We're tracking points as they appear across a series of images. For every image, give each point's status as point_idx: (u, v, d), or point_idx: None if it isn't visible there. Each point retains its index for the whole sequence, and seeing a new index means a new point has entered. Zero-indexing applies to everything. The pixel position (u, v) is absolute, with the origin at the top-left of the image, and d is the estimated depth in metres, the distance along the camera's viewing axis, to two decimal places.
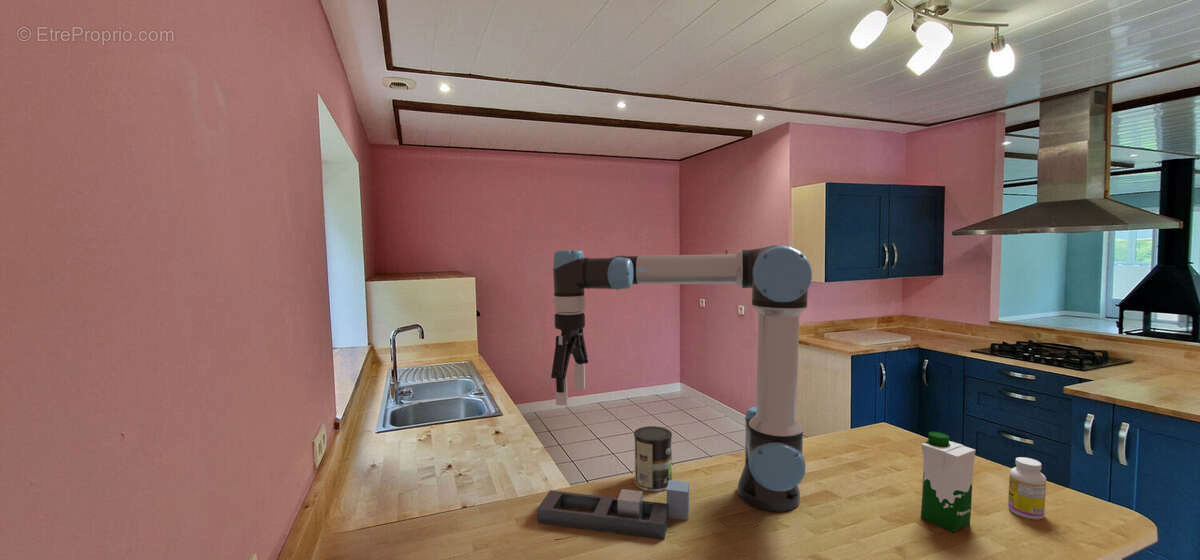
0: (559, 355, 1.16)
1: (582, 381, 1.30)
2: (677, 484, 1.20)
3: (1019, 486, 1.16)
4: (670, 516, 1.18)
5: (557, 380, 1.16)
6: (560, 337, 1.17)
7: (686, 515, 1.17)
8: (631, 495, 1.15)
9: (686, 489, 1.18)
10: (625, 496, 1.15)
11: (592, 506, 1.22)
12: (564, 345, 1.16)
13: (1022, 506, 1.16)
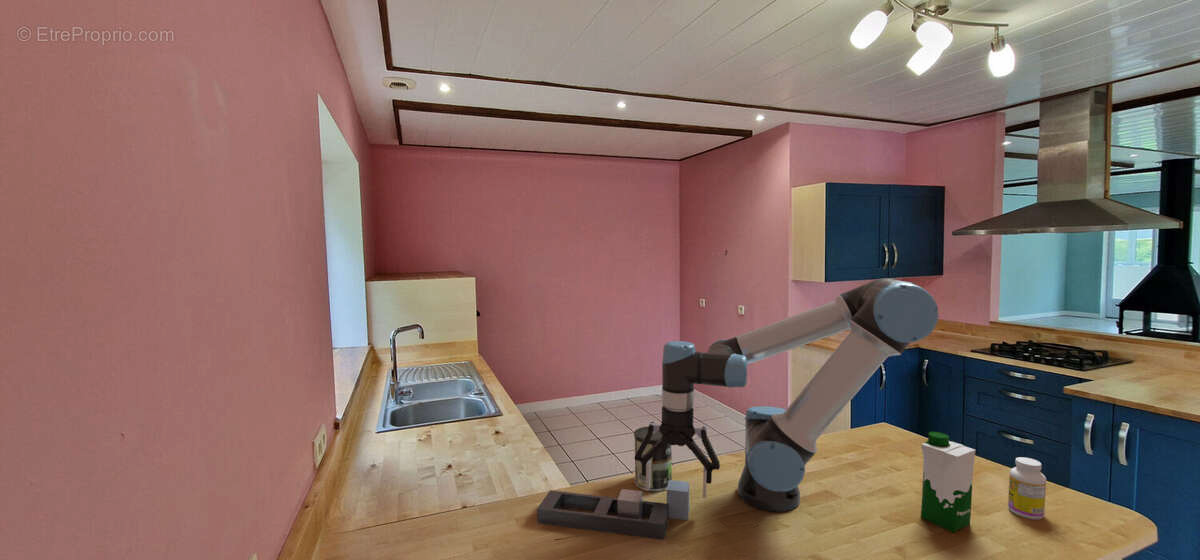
0: None
1: (703, 488, 1.17)
2: (677, 484, 1.20)
3: (1019, 486, 1.16)
4: (670, 516, 1.18)
5: None
6: (649, 424, 1.20)
7: (686, 515, 1.17)
8: (631, 495, 1.15)
9: (686, 489, 1.18)
10: (625, 496, 1.15)
11: (592, 506, 1.22)
12: None
13: (1022, 506, 1.16)
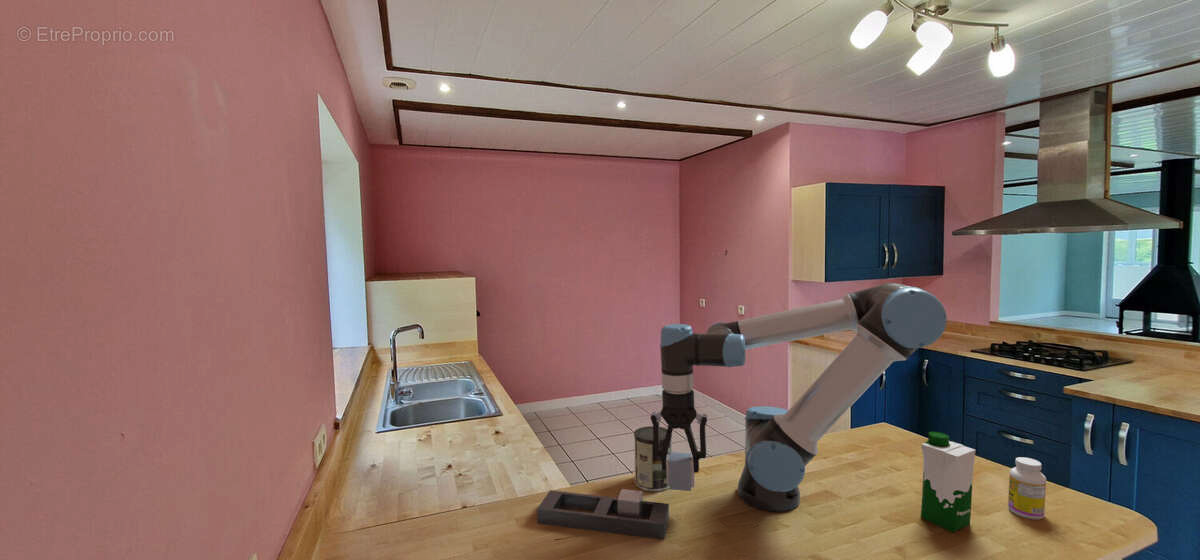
0: None
1: None
2: (679, 456, 1.20)
3: (1019, 486, 1.16)
4: (673, 487, 1.17)
5: None
6: (651, 415, 1.20)
7: (689, 486, 1.17)
8: (631, 495, 1.15)
9: (688, 460, 1.17)
10: (625, 496, 1.15)
11: (592, 506, 1.22)
12: (653, 424, 1.19)
13: (1022, 506, 1.16)
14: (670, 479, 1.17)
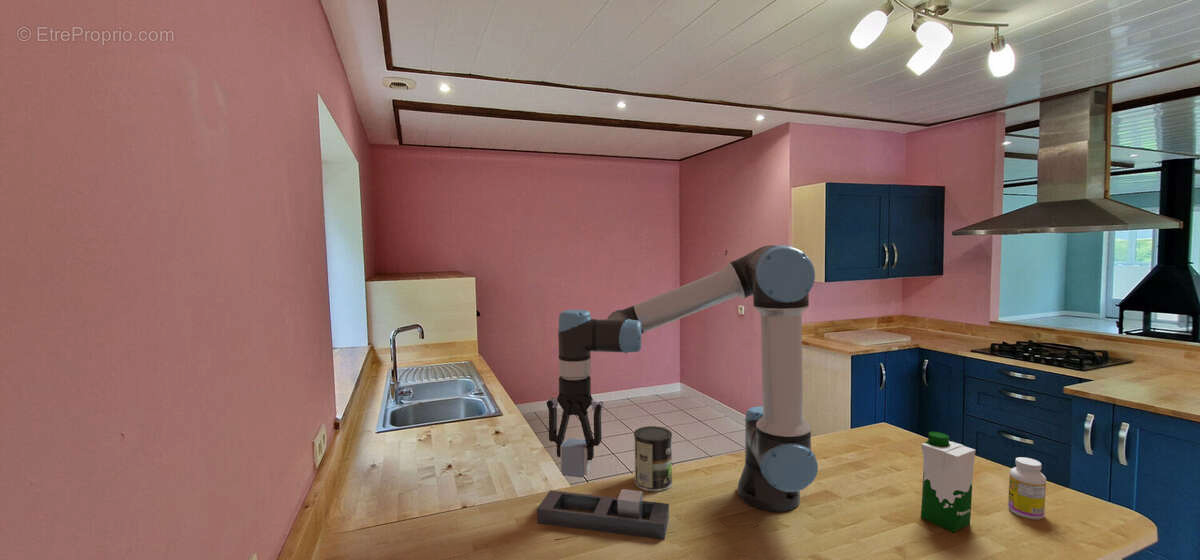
0: None
1: None
2: (574, 442, 1.18)
3: (1019, 486, 1.16)
4: (565, 474, 1.16)
5: None
6: None
7: (581, 472, 1.15)
8: (631, 495, 1.15)
9: (582, 446, 1.16)
10: (625, 496, 1.15)
11: (592, 506, 1.22)
12: (549, 409, 1.18)
13: (1022, 506, 1.16)
14: (563, 465, 1.16)
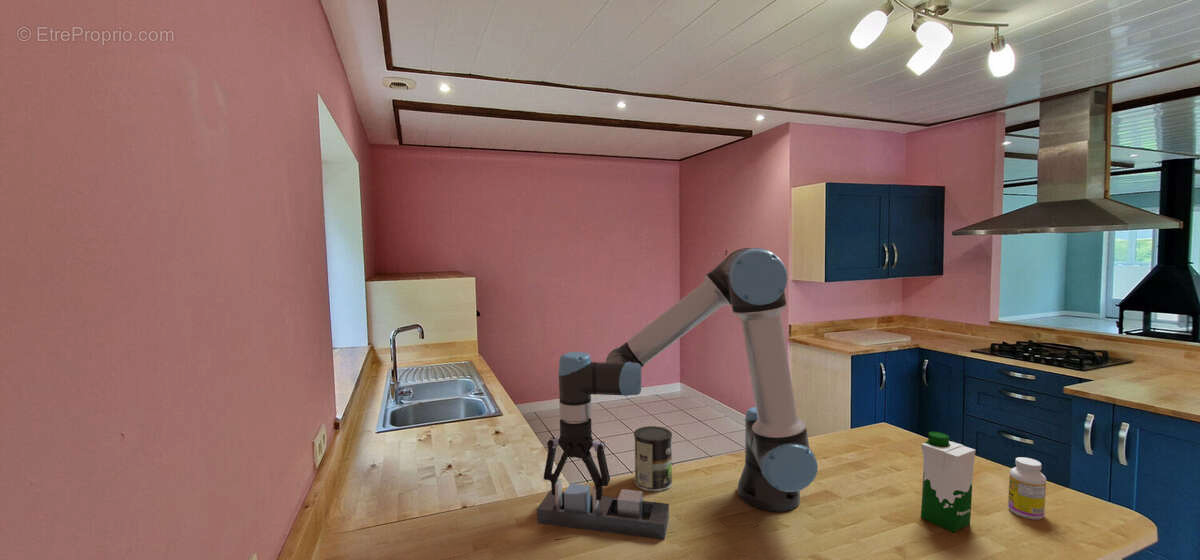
0: None
1: None
2: (576, 488, 1.19)
3: (1019, 486, 1.16)
4: None
5: None
6: (549, 440, 1.19)
7: None
8: (631, 495, 1.15)
9: (584, 493, 1.17)
10: (625, 496, 1.15)
11: (592, 506, 1.22)
12: None
13: (1022, 506, 1.16)
14: None
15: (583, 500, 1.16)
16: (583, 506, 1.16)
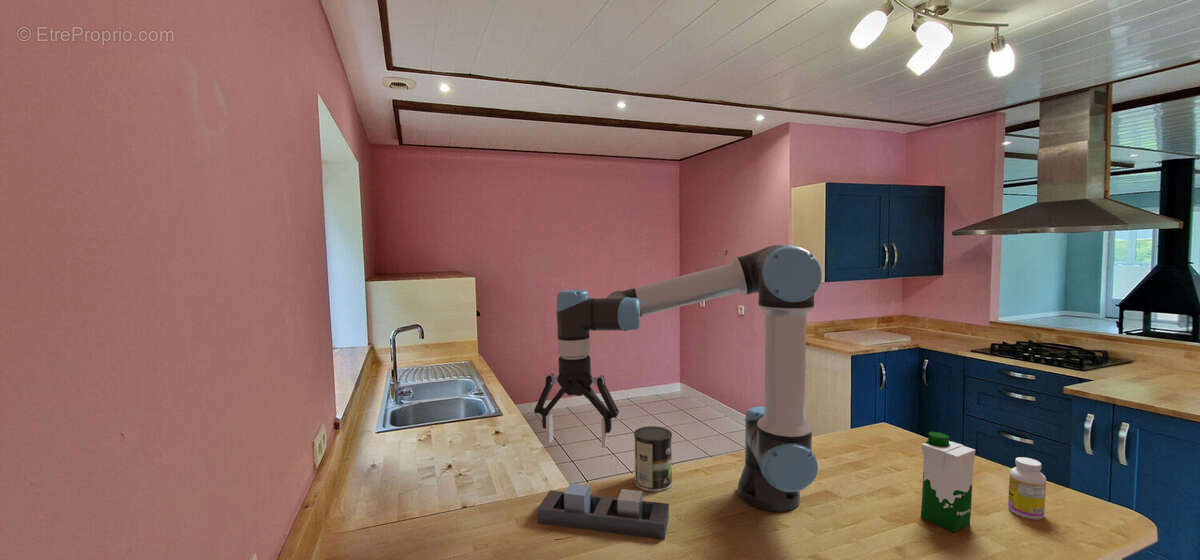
0: None
1: None
2: (576, 488, 1.19)
3: (1019, 486, 1.16)
4: None
5: None
6: (548, 375, 1.18)
7: None
8: (631, 495, 1.15)
9: (584, 493, 1.17)
10: (625, 496, 1.15)
11: (592, 506, 1.22)
12: (546, 384, 1.17)
13: (1022, 506, 1.16)
14: None
15: (583, 500, 1.16)
16: (583, 506, 1.16)
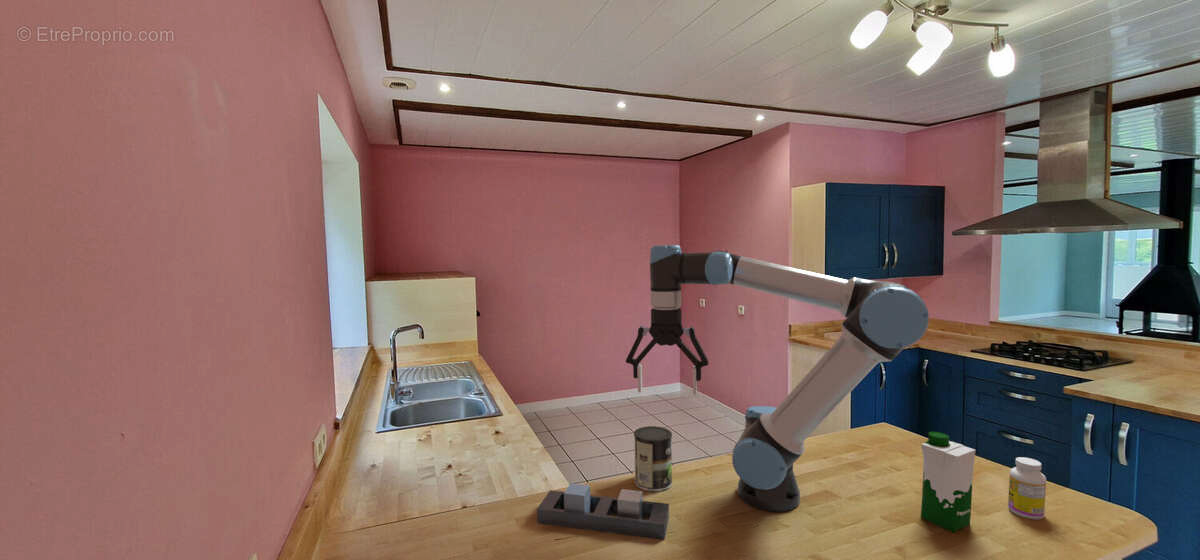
0: None
1: (693, 386, 1.21)
2: (576, 488, 1.19)
3: (1019, 486, 1.16)
4: None
5: None
6: (639, 327, 1.24)
7: None
8: (631, 495, 1.15)
9: (584, 493, 1.17)
10: (625, 496, 1.15)
11: (592, 506, 1.22)
12: (638, 335, 1.23)
13: (1022, 506, 1.16)
14: None
15: (583, 500, 1.16)
16: (583, 506, 1.16)
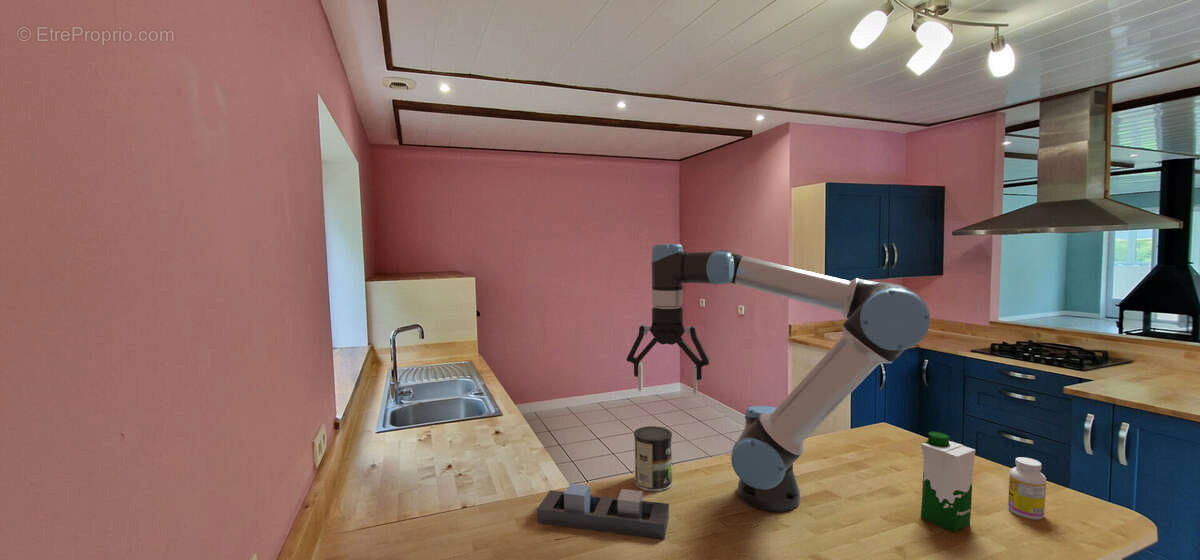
0: None
1: (693, 385, 1.21)
2: (576, 488, 1.19)
3: (1019, 486, 1.16)
4: None
5: None
6: (640, 326, 1.24)
7: None
8: (631, 495, 1.15)
9: (583, 493, 1.17)
10: (625, 496, 1.15)
11: (592, 506, 1.22)
12: (639, 333, 1.23)
13: (1022, 506, 1.16)
14: None
15: (583, 500, 1.16)
16: (583, 506, 1.16)
